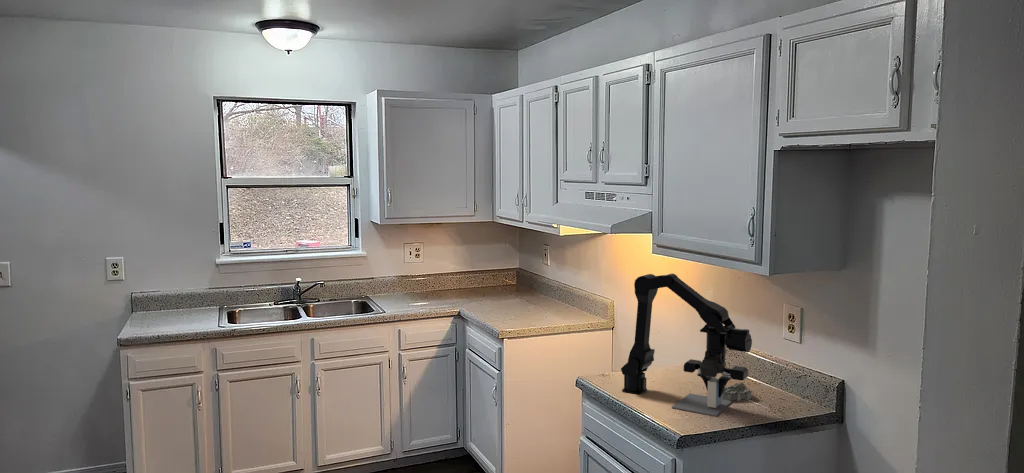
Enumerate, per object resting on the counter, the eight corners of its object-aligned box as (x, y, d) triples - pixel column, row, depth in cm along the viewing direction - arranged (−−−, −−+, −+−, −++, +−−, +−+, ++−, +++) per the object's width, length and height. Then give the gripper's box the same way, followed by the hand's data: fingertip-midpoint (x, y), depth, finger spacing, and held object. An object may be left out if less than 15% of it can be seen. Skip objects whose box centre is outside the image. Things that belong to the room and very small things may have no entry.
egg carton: (744, 393, 236) (744, 381, 235) (754, 401, 228) (754, 388, 228) (713, 395, 234) (713, 383, 234) (722, 402, 227) (723, 389, 226)
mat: (671, 408, 221) (671, 407, 221) (689, 394, 234) (689, 393, 234) (716, 416, 213) (716, 415, 213) (732, 401, 226) (732, 400, 226)
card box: (707, 406, 220) (707, 381, 219) (713, 401, 225) (713, 376, 224) (716, 407, 218) (716, 382, 217) (722, 402, 223) (722, 377, 222)
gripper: (677, 348, 218) (676, 398, 220) (738, 357, 208) (737, 409, 209) (690, 341, 227) (689, 388, 229) (749, 349, 217) (748, 399, 219)
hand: (714, 396), depth 221 cm, fingers closed on card box, 3 cm apart
